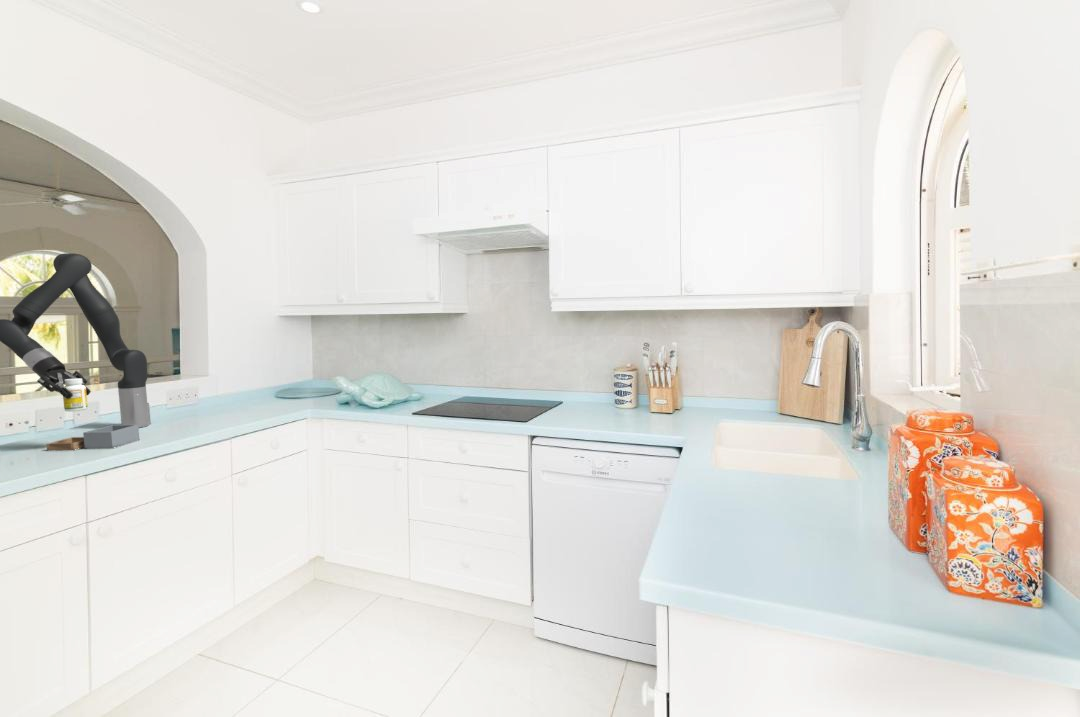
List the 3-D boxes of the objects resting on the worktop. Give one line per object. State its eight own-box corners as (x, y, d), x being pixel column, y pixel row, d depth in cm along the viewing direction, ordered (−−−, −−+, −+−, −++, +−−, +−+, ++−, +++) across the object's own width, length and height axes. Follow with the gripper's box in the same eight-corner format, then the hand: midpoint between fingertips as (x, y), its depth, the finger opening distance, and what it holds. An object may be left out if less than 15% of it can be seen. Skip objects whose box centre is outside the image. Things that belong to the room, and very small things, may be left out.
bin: (113, 440, 190) (112, 425, 189) (139, 440, 190) (138, 424, 189) (84, 449, 178) (83, 432, 177) (112, 448, 178) (111, 432, 177)
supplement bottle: (76, 411, 177) (73, 380, 176) (59, 411, 177) (55, 380, 176) (92, 408, 184) (89, 377, 182) (76, 408, 184) (72, 378, 183)
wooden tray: (72, 443, 186) (71, 437, 186) (98, 443, 186) (97, 436, 186) (47, 450, 176) (46, 444, 176) (74, 450, 176) (73, 443, 176)
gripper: (29, 358, 171) (67, 391, 172) (69, 354, 186) (103, 385, 187) (16, 373, 172) (53, 406, 173) (56, 368, 186) (91, 399, 187)
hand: (79, 395), depth 180 cm, fingers closed on supplement bottle, 6 cm apart
